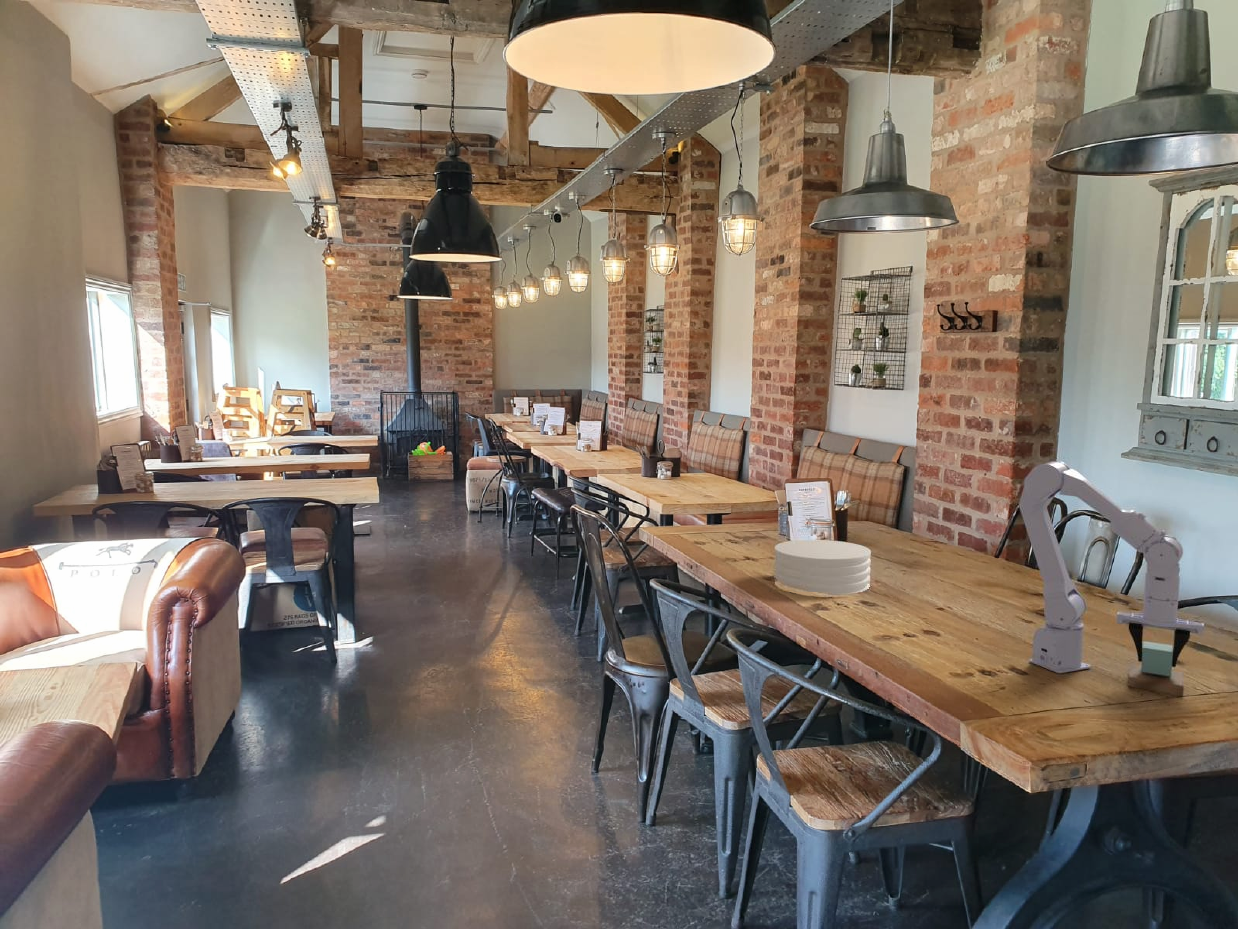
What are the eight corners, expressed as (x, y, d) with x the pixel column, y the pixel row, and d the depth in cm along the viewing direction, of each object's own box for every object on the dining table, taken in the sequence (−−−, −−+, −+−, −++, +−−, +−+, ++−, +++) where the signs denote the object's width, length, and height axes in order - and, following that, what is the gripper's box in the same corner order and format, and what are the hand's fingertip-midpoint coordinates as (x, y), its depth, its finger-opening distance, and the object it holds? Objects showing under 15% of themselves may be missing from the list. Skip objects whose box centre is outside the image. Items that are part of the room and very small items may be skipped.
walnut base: (1128, 686, 163) (1129, 676, 163) (1129, 673, 170) (1130, 663, 170) (1182, 695, 158) (1183, 686, 158) (1181, 681, 165) (1182, 672, 165)
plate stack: (834, 604, 224) (835, 563, 223) (755, 585, 245) (755, 548, 244) (888, 587, 243) (889, 549, 241) (810, 570, 264) (810, 536, 262)
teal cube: (1141, 671, 163) (1142, 647, 163) (1141, 664, 168) (1143, 641, 167) (1171, 676, 161) (1172, 652, 160) (1170, 669, 165) (1172, 645, 164)
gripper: (1204, 598, 161) (1199, 663, 163) (1119, 588, 169) (1115, 651, 171) (1206, 606, 156) (1201, 674, 157) (1117, 595, 164) (1114, 660, 165)
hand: (1156, 663), depth 164 cm, fingers closed on teal cube, 5 cm apart
